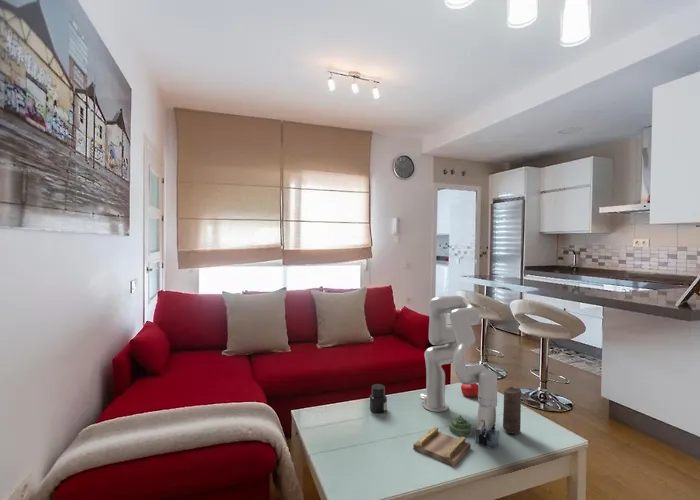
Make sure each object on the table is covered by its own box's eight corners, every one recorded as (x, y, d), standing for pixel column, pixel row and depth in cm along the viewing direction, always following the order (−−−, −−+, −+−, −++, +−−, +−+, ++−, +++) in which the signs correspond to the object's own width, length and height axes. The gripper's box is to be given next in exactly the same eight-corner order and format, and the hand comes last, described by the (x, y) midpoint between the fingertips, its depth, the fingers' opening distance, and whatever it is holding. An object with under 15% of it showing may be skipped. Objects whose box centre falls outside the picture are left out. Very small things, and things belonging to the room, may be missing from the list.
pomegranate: (477, 400, 198) (477, 384, 198) (458, 396, 203) (459, 380, 203) (481, 393, 207) (481, 377, 206) (463, 389, 212) (463, 374, 211)
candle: (522, 437, 161) (523, 392, 160) (504, 435, 162) (505, 391, 162) (518, 428, 168) (518, 385, 168) (501, 426, 170) (501, 384, 169)
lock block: (475, 443, 157) (475, 429, 156) (479, 438, 160) (480, 424, 160) (494, 450, 151) (494, 435, 151) (498, 444, 155) (498, 431, 155)
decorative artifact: (472, 427, 170) (449, 423, 173) (472, 412, 170) (450, 409, 173) (471, 438, 160) (448, 434, 164) (471, 422, 160) (448, 418, 164)
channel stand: (413, 448, 152) (413, 439, 152) (431, 433, 164) (431, 424, 164) (454, 466, 140) (454, 456, 140) (470, 448, 152) (470, 438, 152)
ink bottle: (389, 413, 183) (389, 389, 183) (372, 414, 181) (372, 391, 181) (383, 404, 193) (383, 382, 193) (367, 406, 191) (367, 383, 190)
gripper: (486, 391, 164) (485, 429, 165) (470, 404, 151) (470, 445, 152) (503, 396, 159) (502, 434, 160) (489, 410, 146) (488, 452, 147)
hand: (487, 439), depth 156 cm, fingers open, 9 cm apart
